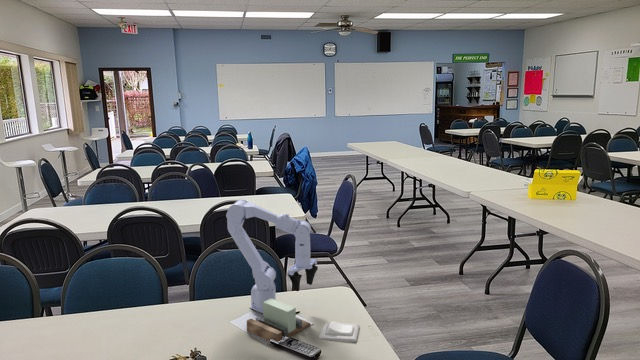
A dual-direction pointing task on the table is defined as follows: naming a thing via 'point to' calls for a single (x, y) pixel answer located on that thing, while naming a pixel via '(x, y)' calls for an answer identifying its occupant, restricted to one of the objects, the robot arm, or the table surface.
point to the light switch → (340, 332)
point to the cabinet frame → (273, 328)
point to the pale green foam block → (280, 314)
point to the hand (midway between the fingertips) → (303, 287)
